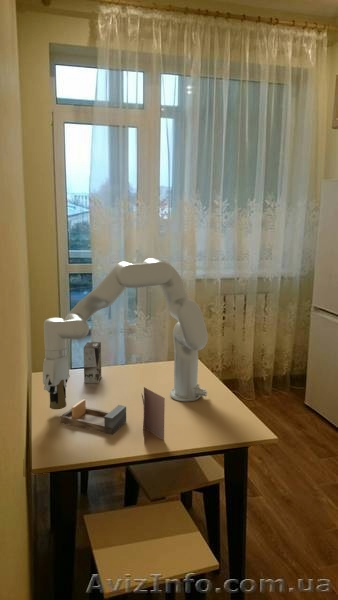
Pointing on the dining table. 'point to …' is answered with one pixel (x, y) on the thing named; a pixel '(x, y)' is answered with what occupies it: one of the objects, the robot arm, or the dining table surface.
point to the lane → (97, 419)
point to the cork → (59, 397)
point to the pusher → (79, 409)
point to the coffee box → (92, 362)
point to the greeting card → (153, 413)
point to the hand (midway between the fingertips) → (58, 399)
